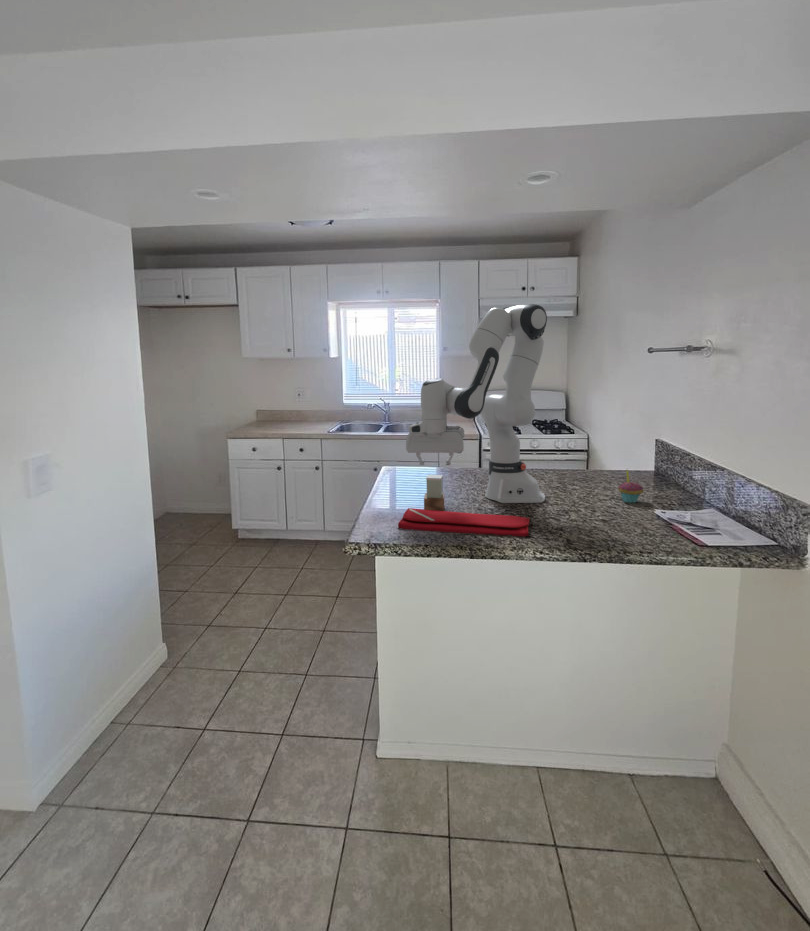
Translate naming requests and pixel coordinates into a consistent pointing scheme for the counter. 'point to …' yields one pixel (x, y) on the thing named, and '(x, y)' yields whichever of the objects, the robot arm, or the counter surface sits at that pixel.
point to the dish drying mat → (464, 522)
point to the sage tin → (434, 486)
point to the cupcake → (630, 490)
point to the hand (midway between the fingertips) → (435, 464)
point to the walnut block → (434, 503)
